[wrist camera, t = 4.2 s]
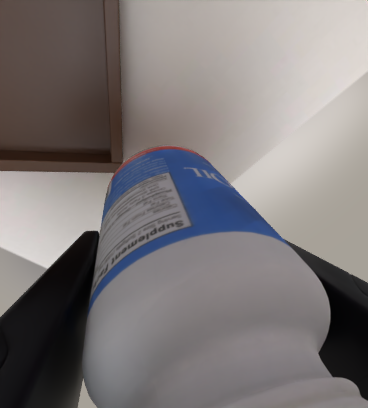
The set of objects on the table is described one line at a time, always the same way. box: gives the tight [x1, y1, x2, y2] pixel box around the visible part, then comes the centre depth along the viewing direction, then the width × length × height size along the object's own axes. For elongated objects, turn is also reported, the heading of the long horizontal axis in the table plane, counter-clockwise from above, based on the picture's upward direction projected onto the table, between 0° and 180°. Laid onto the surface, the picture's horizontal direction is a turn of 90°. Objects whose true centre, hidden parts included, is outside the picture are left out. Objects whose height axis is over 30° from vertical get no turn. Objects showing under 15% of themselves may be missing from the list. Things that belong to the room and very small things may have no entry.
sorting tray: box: [0, 0, 123, 173], centre depth 13 cm, size 12×12×2 cm
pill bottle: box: [82, 145, 368, 408], centre depth 6 cm, size 6×5×10 cm
